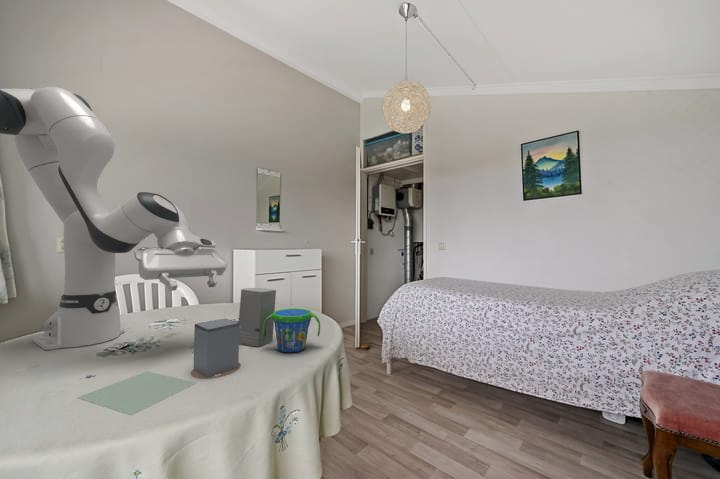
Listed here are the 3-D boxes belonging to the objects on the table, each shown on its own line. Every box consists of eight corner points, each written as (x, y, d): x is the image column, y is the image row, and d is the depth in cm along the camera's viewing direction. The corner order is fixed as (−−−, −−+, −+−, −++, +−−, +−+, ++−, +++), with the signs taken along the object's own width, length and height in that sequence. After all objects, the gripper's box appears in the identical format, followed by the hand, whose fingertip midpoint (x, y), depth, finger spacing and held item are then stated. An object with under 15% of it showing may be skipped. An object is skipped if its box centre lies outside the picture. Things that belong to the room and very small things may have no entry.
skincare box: (236, 344, 83) (237, 289, 83) (254, 337, 90) (254, 286, 90) (259, 348, 80) (260, 291, 80) (275, 340, 86) (276, 287, 87)
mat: (76, 402, 51) (76, 397, 51) (146, 374, 62) (147, 371, 62) (131, 420, 46) (131, 415, 46) (197, 386, 57) (197, 382, 57)
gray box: (193, 369, 63) (194, 323, 64) (224, 360, 69) (224, 318, 69) (206, 378, 59) (208, 329, 59) (238, 367, 64) (239, 323, 65)
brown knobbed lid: (179, 377, 61) (179, 359, 61) (217, 360, 70) (218, 345, 70) (214, 386, 57) (215, 366, 58) (250, 367, 67) (250, 350, 67)
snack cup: (322, 342, 85) (322, 308, 85) (317, 355, 74) (318, 316, 74) (268, 342, 84) (269, 308, 85) (257, 356, 74) (257, 316, 74)
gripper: (136, 238, 69) (149, 282, 63) (220, 241, 85) (236, 276, 79) (129, 256, 71) (141, 300, 65) (212, 256, 88) (227, 291, 82)
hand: (194, 287), depth 72 cm, fingers open, 8 cm apart
